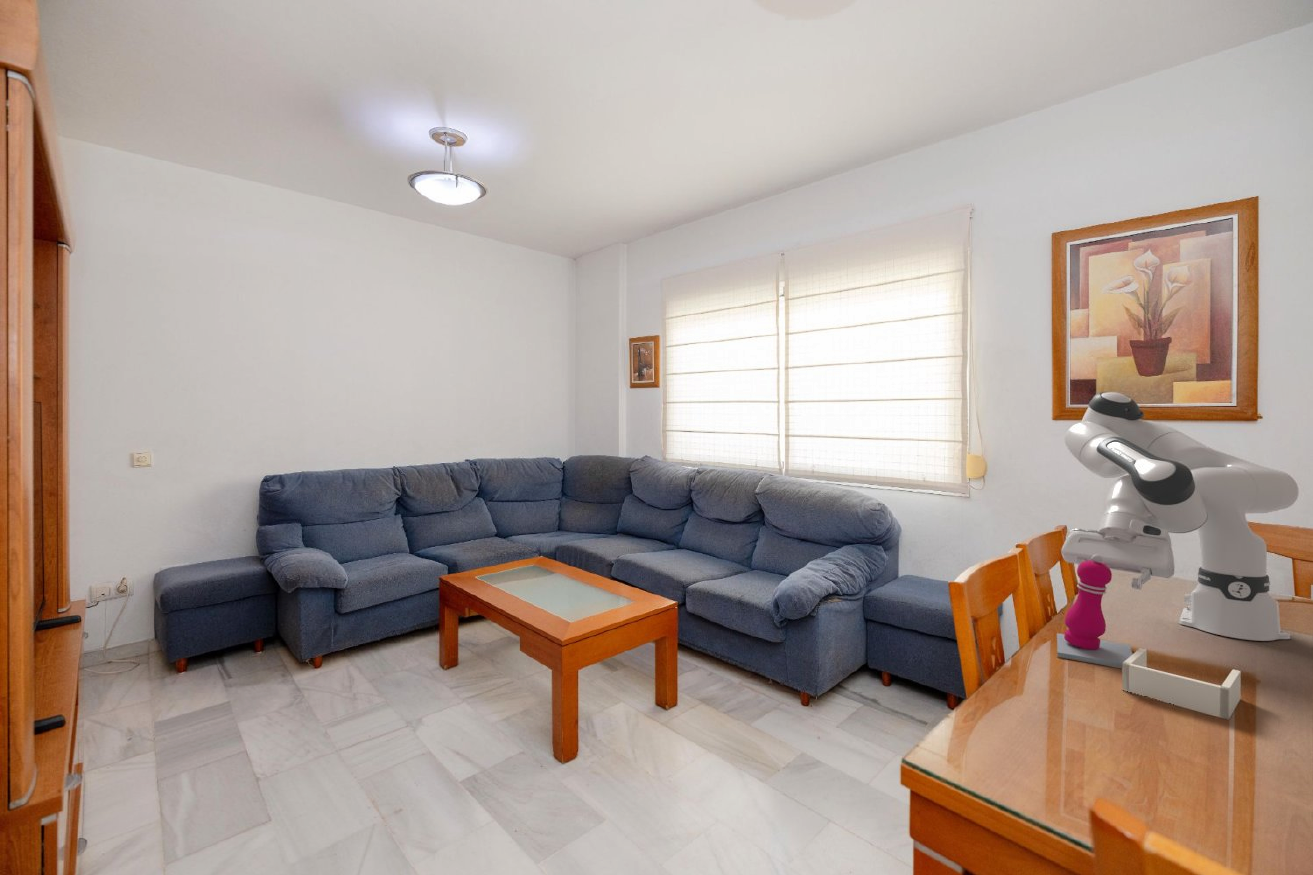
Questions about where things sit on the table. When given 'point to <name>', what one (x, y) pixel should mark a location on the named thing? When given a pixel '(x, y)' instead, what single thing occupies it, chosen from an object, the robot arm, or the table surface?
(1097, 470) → the robot arm
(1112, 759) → the table surface
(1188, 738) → the table surface
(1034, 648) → the table surface
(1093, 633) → the pepper mill
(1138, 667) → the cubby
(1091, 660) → the pad
